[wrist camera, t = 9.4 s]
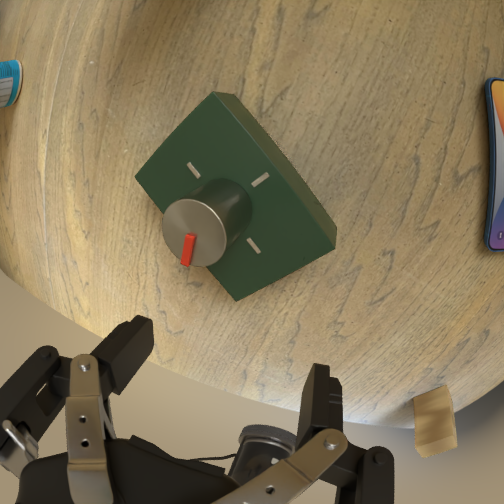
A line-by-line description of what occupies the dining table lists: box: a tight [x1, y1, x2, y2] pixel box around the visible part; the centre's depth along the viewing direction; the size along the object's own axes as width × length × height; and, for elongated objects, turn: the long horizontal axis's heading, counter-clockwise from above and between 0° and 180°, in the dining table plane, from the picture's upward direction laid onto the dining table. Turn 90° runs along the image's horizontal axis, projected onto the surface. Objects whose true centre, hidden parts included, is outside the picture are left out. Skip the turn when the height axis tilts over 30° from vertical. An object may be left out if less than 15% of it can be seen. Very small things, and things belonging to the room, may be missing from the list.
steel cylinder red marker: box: [162, 179, 252, 267], centre depth 18 cm, size 4×4×5 cm
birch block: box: [413, 385, 457, 458], centre depth 25 cm, size 5×5×8 cm
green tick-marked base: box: [135, 92, 337, 302], centre depth 22 cm, size 14×10×4 cm
